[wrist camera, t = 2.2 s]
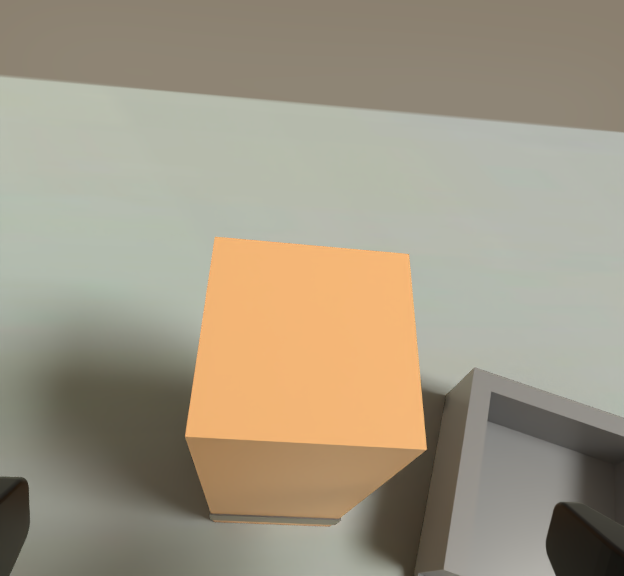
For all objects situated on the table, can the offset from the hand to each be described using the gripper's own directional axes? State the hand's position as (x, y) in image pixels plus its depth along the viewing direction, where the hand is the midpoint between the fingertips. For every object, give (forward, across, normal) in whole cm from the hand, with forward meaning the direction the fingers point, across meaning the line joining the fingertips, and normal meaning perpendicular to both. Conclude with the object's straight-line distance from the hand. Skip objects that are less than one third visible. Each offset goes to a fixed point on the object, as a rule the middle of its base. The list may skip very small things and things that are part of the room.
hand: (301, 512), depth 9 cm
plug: (+9, 0, +5) cm, 11 cm away
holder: (+8, -9, +6) cm, 14 cm away
